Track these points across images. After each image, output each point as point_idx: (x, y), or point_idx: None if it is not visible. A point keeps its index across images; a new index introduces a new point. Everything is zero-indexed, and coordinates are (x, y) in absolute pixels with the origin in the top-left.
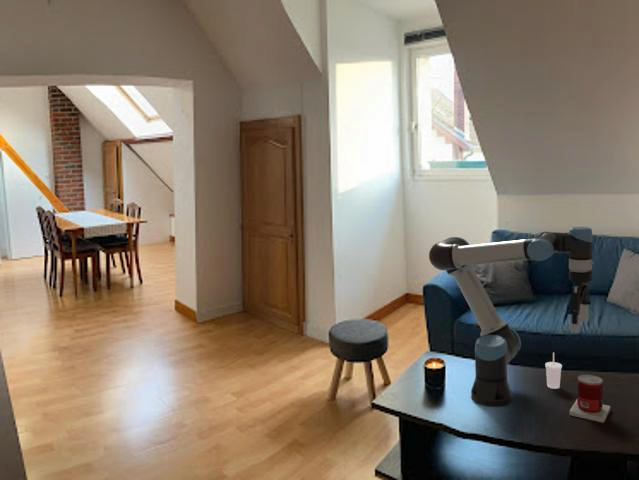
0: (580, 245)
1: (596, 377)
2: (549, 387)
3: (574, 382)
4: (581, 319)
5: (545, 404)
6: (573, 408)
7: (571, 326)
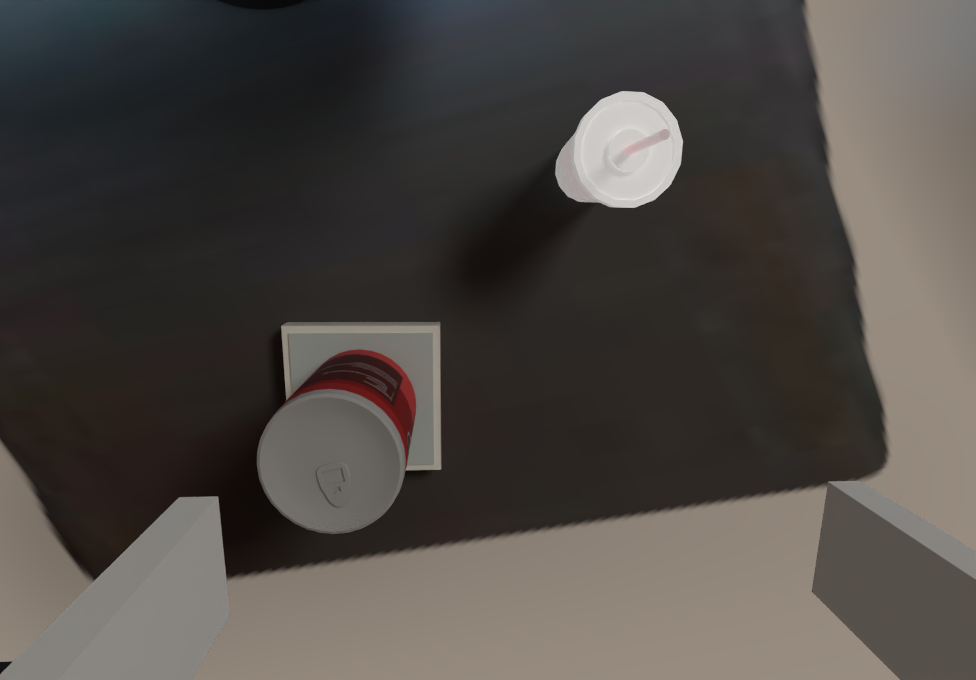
0: None
1: (386, 489)
2: (559, 154)
3: (684, 256)
4: (848, 527)
5: (339, 190)
6: (315, 336)
7: (119, 569)
